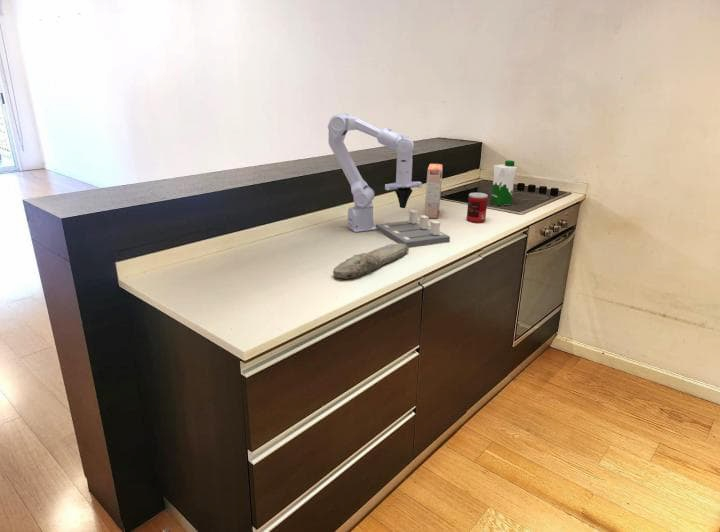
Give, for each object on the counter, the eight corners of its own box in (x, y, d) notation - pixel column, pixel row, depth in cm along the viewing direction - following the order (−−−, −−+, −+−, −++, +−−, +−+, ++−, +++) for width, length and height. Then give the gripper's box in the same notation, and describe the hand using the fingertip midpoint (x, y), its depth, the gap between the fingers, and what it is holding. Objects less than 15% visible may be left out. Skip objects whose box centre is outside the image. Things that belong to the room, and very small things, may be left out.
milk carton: (514, 205, 230) (520, 162, 223) (497, 207, 227) (502, 163, 220) (504, 201, 238) (509, 159, 230) (487, 202, 235) (491, 160, 228)
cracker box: (438, 219, 207) (441, 169, 199) (423, 218, 208) (426, 168, 201) (440, 211, 220) (443, 163, 212) (426, 210, 221) (429, 163, 213)
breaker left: (412, 223, 192) (413, 212, 190) (408, 221, 194) (409, 210, 193) (417, 223, 192) (418, 212, 191) (413, 221, 195) (414, 210, 194)
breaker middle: (423, 229, 185) (423, 217, 183) (418, 226, 188) (419, 215, 186) (428, 228, 186) (428, 217, 184) (423, 226, 188) (424, 215, 187)
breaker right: (434, 235, 178) (435, 223, 176) (429, 232, 181) (430, 221, 179) (439, 234, 179) (440, 222, 177) (434, 232, 182) (435, 220, 180)
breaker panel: (405, 247, 172) (405, 242, 171) (376, 229, 192) (376, 224, 192) (449, 241, 179) (449, 236, 178) (416, 224, 199) (416, 219, 198)
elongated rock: (416, 257, 168) (391, 252, 173) (416, 242, 166) (392, 238, 172) (350, 283, 141) (325, 276, 147) (350, 265, 140) (324, 259, 146)
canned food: (483, 218, 209) (486, 192, 205) (486, 223, 202) (489, 197, 198) (465, 217, 210) (467, 192, 206) (467, 222, 202) (469, 196, 198)
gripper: (391, 174, 176) (390, 211, 181) (426, 172, 181) (424, 208, 186) (382, 171, 182) (381, 207, 187) (417, 168, 187) (415, 203, 192)
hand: (402, 207), depth 187 cm, fingers closed
